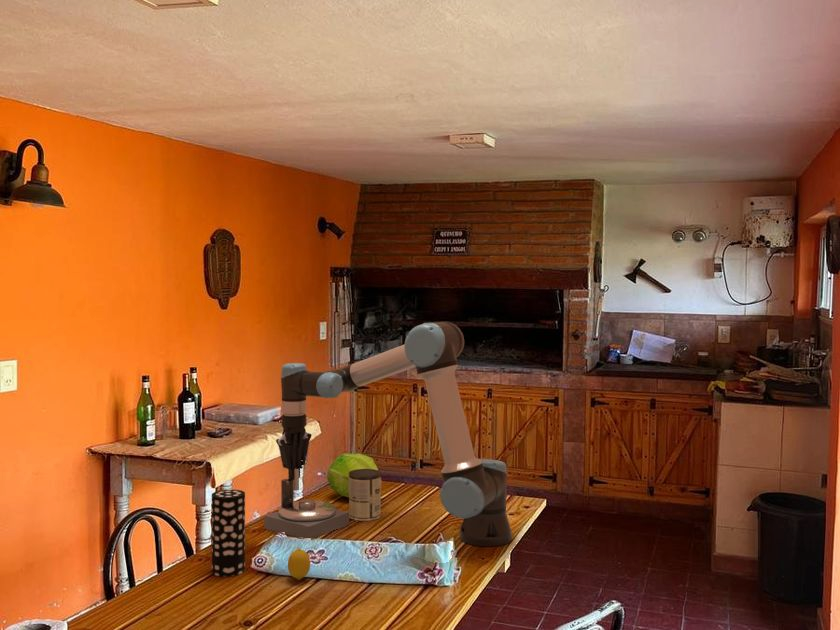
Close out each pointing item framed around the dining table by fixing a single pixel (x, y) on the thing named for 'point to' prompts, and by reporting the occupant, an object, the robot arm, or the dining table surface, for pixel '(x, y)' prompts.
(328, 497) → the dining table surface
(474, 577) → the dining table surface
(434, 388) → the robot arm
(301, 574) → the lemon
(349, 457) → the lettuce
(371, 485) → the coffee can
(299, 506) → the peg on round base
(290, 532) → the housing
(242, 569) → the spotted tube
